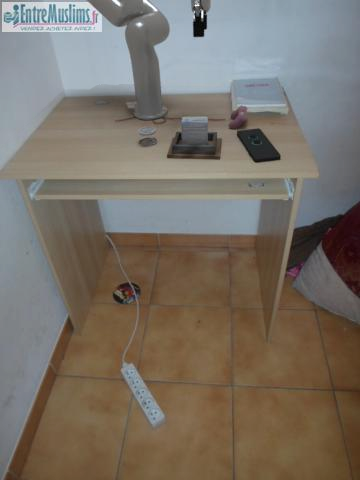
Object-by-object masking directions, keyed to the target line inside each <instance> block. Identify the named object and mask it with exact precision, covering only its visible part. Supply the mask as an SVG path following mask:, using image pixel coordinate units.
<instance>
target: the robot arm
mask: <svg viewBox="0 0 360 480" xmlns="http://www.w3.org/2000/svg"><path fill="white" fill-rule="evenodd" d="M86 2H88V3H89V4H90V5H91V6H92V7H93V8H94V9H95V10H96V11H98V13H99V14H101V16H102V17H104V18H105V19H106V20H107V21H108V22H109V23H110V24H112V25H113V26H114V27H117V28H122V27H125V31H124V36H125V37H124V38H125V41H126V43H125V44H126V45H127V48H128V53H129V57H130V61H131V63H130V64H131V70H132V71H131V72H132V77H133V85H134V92H135V101H126V102H125V107H126V108H127V109H128V110H133V115H134V117H135V118H136V119H139V120H144V121H147V120H148V121H149V120H150V121H152V120H157V119H160V118H162V117H165V116H166V115H167V112H168V110H167V107H166V106H164V105H163V98H162V97H163V96H162V81H161V70H160V61H159V57H158V54H157V52H156V49H155V46H157V45H160V44H162V43H164V42H165V41H166V40H167V39H168V37H169V35H170V29H171V27H170V23H169V21H168V19H167V17H166V16H165V15H164V14H163V12H161V10H160V9H158V7H156V5H154V4H153V3H152V2H151V1H150V0H86ZM190 3H191V4H190V5H191V11H192V13H193V17H192V18H193V21H192V30H193V32H192V35H193V36H192V37H193V38H205V31H206V30H207V28H208V14H207V13H208V12H209V11H210V10H211V3H212V2H211V0H190Z"/></svg>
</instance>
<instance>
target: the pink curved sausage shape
mask: <svg viewBox="0 0 360 480" xmlns="http://www.w3.org/2000/svg"><path fill="white" fill-rule="evenodd" d="M247 112H248V107H247V106H245V105H240V106H239V107H238V108H237V109H235V110H233V112H232V113H231V114H230V115H229V117H230V119H231V120H232V121H231V122H230V123H229V124H228V128H229V129H231V130H233V129H237V128H238V127H240V126H241V125H243V124H244V123H245V122H247V120H248V118H247Z"/></svg>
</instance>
